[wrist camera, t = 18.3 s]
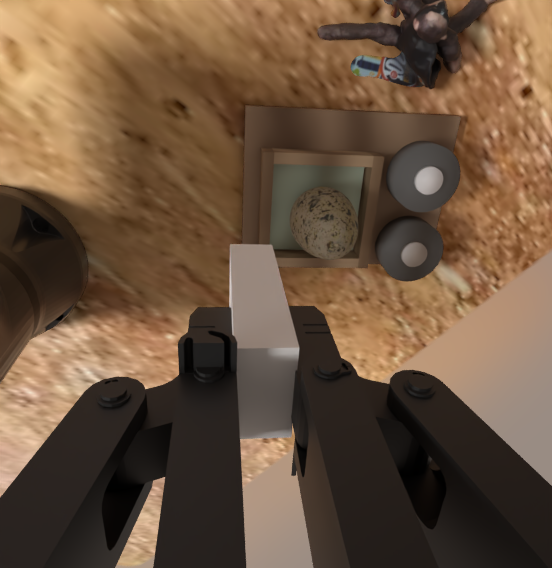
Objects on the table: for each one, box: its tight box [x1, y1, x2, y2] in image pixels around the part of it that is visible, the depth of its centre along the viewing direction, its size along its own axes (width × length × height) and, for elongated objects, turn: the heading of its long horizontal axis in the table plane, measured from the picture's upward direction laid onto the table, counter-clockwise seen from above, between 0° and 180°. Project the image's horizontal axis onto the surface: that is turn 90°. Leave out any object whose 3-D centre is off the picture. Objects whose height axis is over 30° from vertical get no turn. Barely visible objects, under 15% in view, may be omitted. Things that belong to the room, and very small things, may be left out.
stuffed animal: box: [318, 0, 497, 89], centre depth 40 cm, size 12×10×12 cm
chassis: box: [242, 105, 461, 281], centre depth 43 cm, size 20×15×6 cm
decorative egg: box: [290, 187, 358, 260], centre depth 41 cm, size 6×6×10 cm
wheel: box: [386, 141, 460, 212], centre depth 42 cm, size 6×6×3 cm
